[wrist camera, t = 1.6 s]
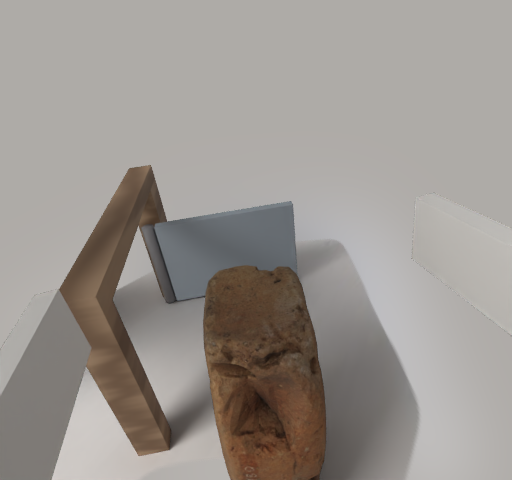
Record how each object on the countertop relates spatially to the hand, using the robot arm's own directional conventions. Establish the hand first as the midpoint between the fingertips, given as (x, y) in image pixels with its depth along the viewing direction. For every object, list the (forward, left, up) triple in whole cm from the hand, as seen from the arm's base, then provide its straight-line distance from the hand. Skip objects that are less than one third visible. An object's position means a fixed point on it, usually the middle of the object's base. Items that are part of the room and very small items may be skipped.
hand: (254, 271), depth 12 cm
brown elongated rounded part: (0, +5, -27) cm, 27 cm away
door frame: (-12, +23, -26) cm, 37 cm away
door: (-2, +32, -26) cm, 41 cm away
